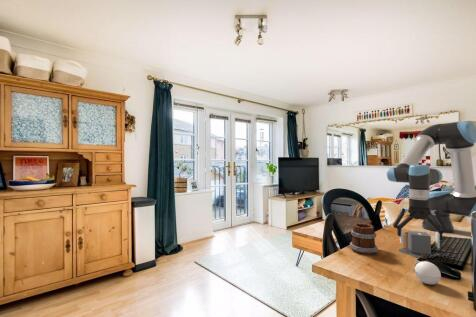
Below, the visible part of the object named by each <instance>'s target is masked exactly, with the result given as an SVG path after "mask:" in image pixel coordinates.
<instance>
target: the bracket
mask: <svg viewBox="0 0 476 317" xmlns="http://www.w3.org/2000/svg"><path fill="white" fill-rule="evenodd" d="M406 247H408V231H403V244H401V248H406Z"/></svg>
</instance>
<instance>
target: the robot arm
mask: <svg viewBox="0 0 476 317" xmlns="http://www.w3.org/2000/svg"><path fill="white" fill-rule="evenodd" d="M475 144H476V125H475V124H474V123H473V122H471V121H470V120H469V121H453V122H445V123H437V124H433V125H430V126H428V127H426V128H424V129H423V130H422V131H421V132H419V133H418V134H417V136H415V138H414V142H413V144H412V145H411V146H410V148H409V149H408V151H407V152H406V153H405V155H404V156H403V158H402V159H401V161H400V162H399V163H398V164H397V165H396V167H395V166H393V167H388V169H387V171H386V177H387V180H388V182H389V181H390V182H395V183H403V184H404V183H405V184H407V183H408V197H409V199H408V208H404V207H401V208H400V212H399V214H398V215H397V217H396V219H395V220H394V222H393V223H392V226H393V228H395V229H396V231H397V236H398V237H399V243H400V244H401V245H402V244H403V232H404V230H403V228H404V227H405V226H406V225H407V224H409V223H410V222H411V221H412V220H414V219H415V220H421V221H422V224H421V227H422V229H425V230H429V231H433V232H435V234H434V236H435V241H434V242H435V244H434V245H435V247H436V248H437V249H440V247H441V246H440V245H441V244H440V243H441V242H440V241H442V240H443V234H444V233H453V232H454V231H455V229H454V228H455V227H454V225H453V222H452V219H451V215H455V216H461V217H469V218H472V217H471V213H472V212H473V211H476V185H475V184H476V183H475V174H474V168H473V159H472V158H473V157H472V151H471V149H473V148H474V146H475ZM437 145H445V149H446V150H448V151H449V155H450V156H449V157H450V164H451V170H452V179H453V180H452V181H453V187H454V190H453V191H449V190H448V191H447V190H439V191H438V190H437V191H436V190H434V191H430V185H436V184H438V183H440V182H441V181H442V180H443V173H442V172H441V170H439V169H438V168H437V169H436V168H433V167H432V168H430V166H429V165H428V164H419V163H420V162H421V161H422V160H423V158H424V157H425V155H426V154H427V152H428V151H429V149H432V148H433V147H434V146H437ZM407 212H408V215H407V217H406V218H404V216H405V214H407ZM403 218H404V219H403ZM402 219H403V220H402Z"/></svg>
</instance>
